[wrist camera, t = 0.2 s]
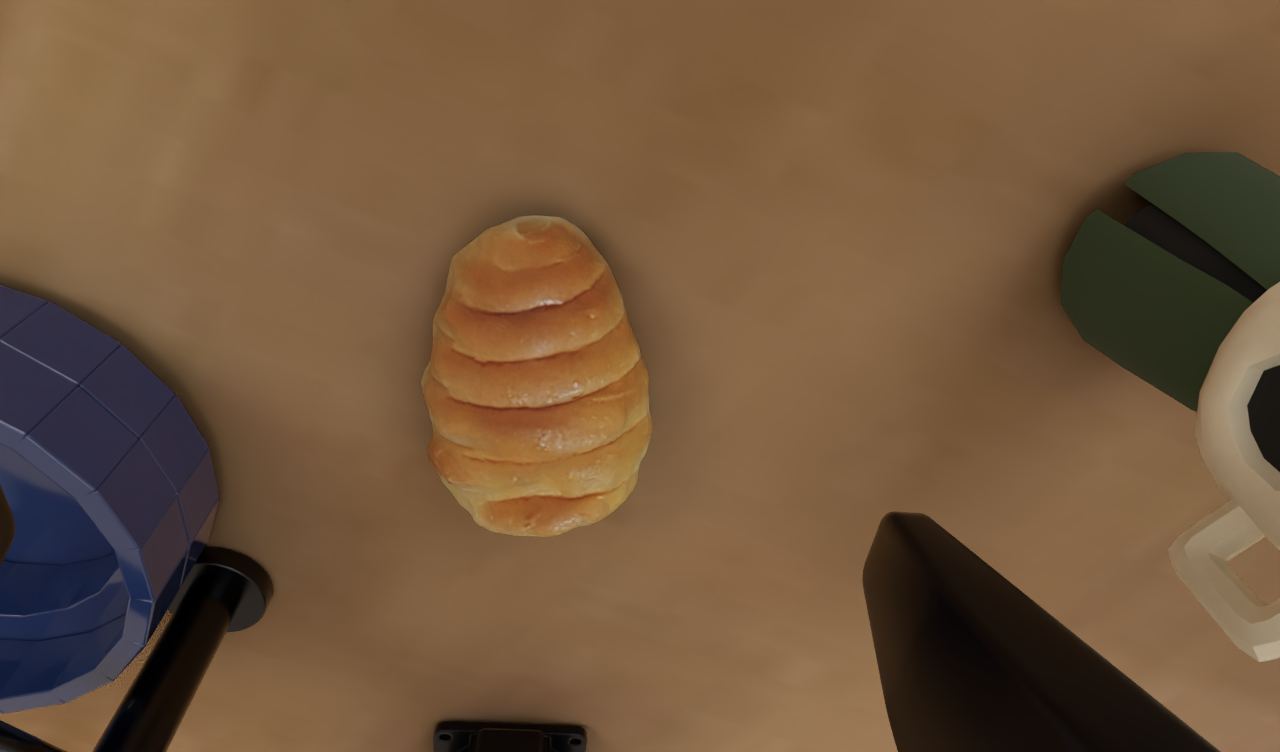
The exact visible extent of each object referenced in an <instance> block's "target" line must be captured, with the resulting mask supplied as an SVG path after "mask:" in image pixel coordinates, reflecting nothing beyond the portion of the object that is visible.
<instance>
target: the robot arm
mask: <svg viewBox="0 0 1280 752" xmlns="http://www.w3.org/2000/svg"><path fill="white" fill-rule="evenodd" d="M14 535H15V520H14V516H13V514H12V511H11V509H10V506H9V504H8V501H7V499H6V496H5V494H4V491H3V489H2V487H1V484H0V566H1V564H2V562H3V560H4V558H5V556H6V554H7V553H8V551H9V549H10V547H11V544H12V542H13V539H14ZM863 588H864V594H865V599H866V604H867V610H868V615H869V620H870V626H871V631H872V636H873V641H874V647H875V652H876V657H877V663H878V668H879V673H880V679H881V684H882V689H883V695H884V699H885V704H886V709H887V713H888V718H889V722H890V725H891V729H892V732H893V736H894V740H895V743H896V746H897V750H898V752H1220V751H1219V750H1218V749H1216V748H1215V747H1214V746H1213V745H1212V744H1210V743H1209V742H1208V741H1207V740H1205V739H1204V738H1203V737H1202V736H1200V735H1199V734H1198V733H1197V732H1195V731H1194V730H1193V729H1192V728H1190V727H1189V726H1188V725H1187V724H1185V723H1184V722H1183V721H1182V720H1180V719H1179V718H1178V717H1177V716H1176V715H1174V714H1173V713H1172V712H1171V711H1169V710H1168V709H1167V708H1166V707H1164V706H1163V705H1162V704H1161V703H1159V702H1158V701H1157V700H1156V699H1154V698H1153V697H1152V696H1151V695H1149V694H1148V693H1147V692H1146V691H1144V690H1143V689H1142V688H1141V687H1140V686H1138V685H1137V684H1136V683H1135V682H1133V681H1132V680H1131V679H1130V678H1128V677H1127V676H1126V675H1125V674H1123V673H1122V672H1121V671H1120V670H1118V669H1117V668H1116V667H1115V666H1113V665H1112V664H1111V663H1110V662H1108V661H1107V660H1106V659H1105V658H1104V657H1102V656H1101V655H1100V654H1099V653H1097V652H1096V651H1095V650H1094V649H1092V648H1091V647H1090V646H1089V645H1087V644H1086V643H1085V642H1084V641H1082V640H1081V639H1080V638H1079V637H1077V636H1076V635H1075V634H1074V633H1073V632H1071V631H1070V630H1069V629H1068V628H1066V627H1065V626H1064V625H1063V624H1061V623H1060V622H1059V621H1058V620H1056V619H1055V618H1054V617H1053V616H1051V615H1050V614H1049V613H1048V612H1046V611H1045V610H1044V609H1043V608H1041V607H1040V606H1039V605H1038V604H1037V603H1035V602H1034V601H1033V600H1032V599H1030V598H1029V597H1028V596H1027V595H1025V594H1024V593H1023V592H1022V591H1020V590H1019V589H1018V588H1017V587H1015V586H1014V585H1013V584H1012V583H1010V582H1009V581H1008V580H1007V579H1005V578H1004V577H1003V576H1002V575H1001V574H999V573H998V572H997V571H996V570H994V569H993V568H992V567H991V566H989V565H988V564H987V563H986V562H984V561H983V560H982V559H981V558H979V557H978V556H977V555H976V554H974V553H973V552H972V551H971V550H969V549H968V548H967V547H966V546H965V545H963V544H962V543H961V542H960V541H958V540H957V539H956V538H955V537H953V536H952V535H951V534H950V533H948V532H947V531H946V530H945V529H943V528H942V527H941V526H940V525H938V524H937V523H936V522H935V521H934V520H932V519H931V518H930V517H928V516H927V515H924V514H921V513H909V512H890V513H887V514H886V515H885V516H884V517H883V518H882V520H881V522H880V525H879V527H878V530H877V533H876V535H875V538H874V541H873V543H872V546H871V548H870V551H869V554H868V556H867V559H866V562H865V565H864V569H863ZM433 741H434V752H585V749H586V743H587V733H586V730H585V729H584V728H581V727H577V726H551V725H522V724H494V723H465V722H442V723H439V724H438V725H436V727H435V732H434V737H433Z"/></svg>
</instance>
